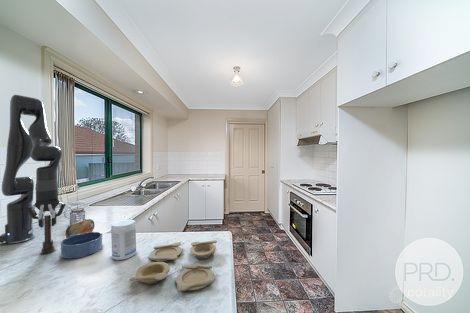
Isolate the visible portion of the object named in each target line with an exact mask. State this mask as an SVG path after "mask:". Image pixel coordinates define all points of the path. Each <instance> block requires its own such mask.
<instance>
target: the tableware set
mask: <svg viewBox="0 0 470 313" xmlns="http://www.w3.org/2000/svg"><path fill="white" fill-rule="evenodd" d="M217 242H218V241H217V240H216V239H215V240H207V241H192V242H191V243H190V245H191V247H190V248H189V252H190V254H191V255H193V256H195V257H196V258H197V259H207V258H210V256H211V255H212V254H213V253H215V252H216V250H217V246H216V245H215V244H217ZM181 245H182V244H181V241H177V242H173V243H171V244H164V245H162V244H161V245H155V246H153V250H151V252H150V253H149V257H148V260H149V261H153V262H150V263H146V264H145V265H142V266H141V267H139V268H138V269H137V270H136V272H135V275H134V276H130V277H129V281H130V282H133V281H134V282H135V281H139V282H142V283H144V284H147V285H153V284H156V283H158V282H160V281H161V280H164V279H166V278H168V274H169V272H170V270H171V269H170V264H168V262H169V261H177V260H178V257H179V256H180V255H181V254H182V251H183V250H182V248H181V247H180V246H181ZM166 262H167V263H166ZM181 268H182V269H183V270H181V271H180V272H179V273H178V274H177V276H176V277H175V283H176V290H177V293H178V292H185V291H196V290H201V289H203V288H205V287H207V286H208V285H212V284H214V283H215V281H214V277H215V276H214V272H213V270H212V268H213V265H211V264H210V265H209V264H196V263H182V265H181Z"/></svg>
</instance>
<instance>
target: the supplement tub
mask: <svg viewBox="0 0 470 313" xmlns="http://www.w3.org/2000/svg"><path fill="white" fill-rule="evenodd" d="M110 226H111V228H110V237H111V258H112V259H113V260H115V261H120V260H126V259H129V258H131V257H133V256H134V255H136V253H137V227H136V221H135V220H134V219H130V218H129V219H121V220H116V221H114V222H113V223H112V224H110Z"/></svg>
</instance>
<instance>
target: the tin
mask: <svg viewBox="0 0 470 313" xmlns="http://www.w3.org/2000/svg"><path fill="white" fill-rule="evenodd" d="M81 220H82V221H79V222H77V223H74V224H71V225H70V224H69V225H70V226H69V225H68V226H67V227H66V229H65V233H64V234H65V239H66V238H68V237H70V236H73V235H77V234H81V233H87V232H94V229H95V221H94V219H91V218H88V219H87V218H85V220H83V219H81Z"/></svg>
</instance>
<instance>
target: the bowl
mask: <svg viewBox="0 0 470 313" xmlns="http://www.w3.org/2000/svg"><path fill="white" fill-rule="evenodd" d="M102 247H103V234H102V232H99V231H92V232H87V233H81V234H77V235H73V236H70V237H68V238H66V237H65V238H63V239H62V241H60V255H61V256H60V257H61V258H64V259H77V258H82V257H86V256H89V255H91V254H94V253H96V252H98V251H100V249H102Z"/></svg>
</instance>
